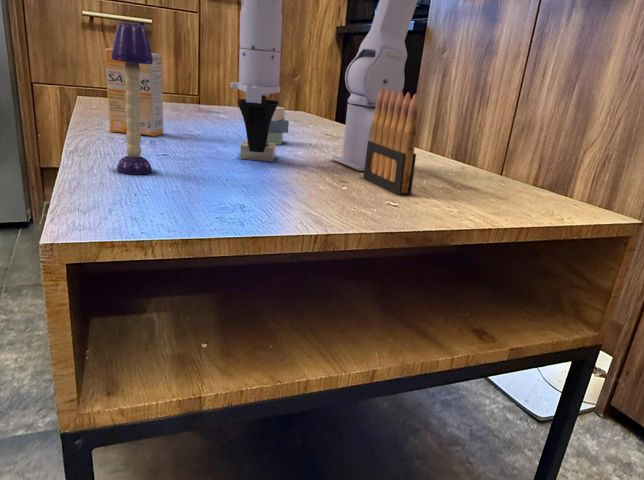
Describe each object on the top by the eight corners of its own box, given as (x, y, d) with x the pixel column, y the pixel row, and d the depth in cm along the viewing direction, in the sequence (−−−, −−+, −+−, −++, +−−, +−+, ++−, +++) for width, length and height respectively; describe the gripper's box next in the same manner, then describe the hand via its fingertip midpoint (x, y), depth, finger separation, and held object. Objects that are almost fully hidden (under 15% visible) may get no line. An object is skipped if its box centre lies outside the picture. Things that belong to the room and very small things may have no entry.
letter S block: (273, 161, 91) (273, 146, 90) (240, 158, 91) (240, 143, 90) (275, 156, 95) (276, 141, 94) (244, 153, 95) (244, 139, 94)
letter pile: (286, 146, 106) (288, 108, 103) (247, 142, 106) (248, 105, 103) (288, 141, 112) (290, 105, 110) (251, 137, 112) (252, 102, 109)
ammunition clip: (362, 177, 85) (373, 86, 80) (374, 177, 86) (385, 87, 80) (398, 195, 76) (412, 93, 71) (411, 195, 77) (426, 94, 72)
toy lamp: (149, 167, 79) (143, 24, 71) (162, 174, 76) (157, 25, 68) (113, 168, 76) (102, 20, 69) (124, 175, 73) (114, 21, 66)
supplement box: (108, 132, 104) (102, 47, 98) (121, 129, 108) (116, 48, 102) (153, 137, 103) (150, 52, 97) (164, 134, 107) (162, 52, 101)
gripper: (238, 47, 90) (236, 142, 96) (223, 47, 77) (222, 156, 83) (284, 52, 90) (280, 146, 96) (278, 52, 77) (273, 161, 83)
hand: (256, 151), depth 89 cm, fingers closed
